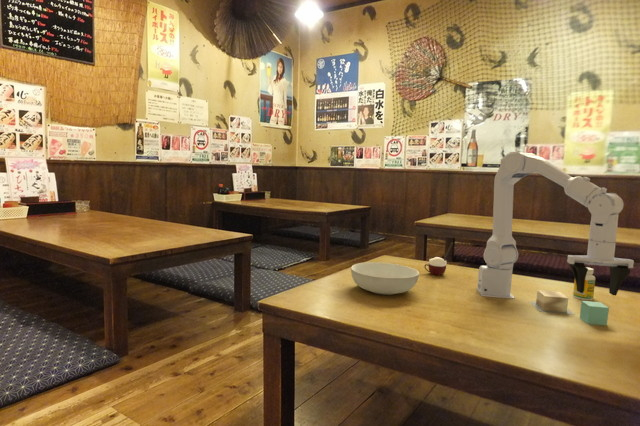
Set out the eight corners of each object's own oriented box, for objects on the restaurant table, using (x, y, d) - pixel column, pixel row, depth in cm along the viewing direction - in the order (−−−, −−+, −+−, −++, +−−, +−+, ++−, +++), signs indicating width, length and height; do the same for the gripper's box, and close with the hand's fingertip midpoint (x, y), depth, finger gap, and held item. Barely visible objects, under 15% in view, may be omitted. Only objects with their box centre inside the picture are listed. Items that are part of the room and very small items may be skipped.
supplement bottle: (577, 294, 133) (581, 265, 132) (596, 299, 129) (599, 269, 128) (569, 297, 130) (572, 267, 129) (588, 302, 126) (591, 271, 125)
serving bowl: (431, 298, 124) (433, 275, 123) (369, 304, 116) (370, 280, 116) (394, 279, 143) (395, 260, 143) (339, 283, 136) (339, 263, 135)
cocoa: (423, 274, 153) (423, 242, 152) (428, 271, 158) (428, 239, 157) (449, 278, 148) (449, 244, 147) (453, 274, 153) (454, 241, 152)
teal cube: (587, 325, 106) (589, 306, 106) (579, 319, 111) (581, 300, 110) (606, 326, 106) (608, 307, 105) (598, 320, 110) (600, 302, 109)
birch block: (543, 310, 116) (544, 296, 115) (536, 303, 121) (537, 290, 121) (566, 312, 115) (568, 298, 114) (558, 305, 120) (559, 291, 120)
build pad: (539, 312, 114) (539, 311, 114) (528, 302, 123) (528, 301, 123) (574, 315, 113) (575, 314, 113) (561, 305, 122) (561, 304, 122)
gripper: (577, 241, 103) (572, 295, 104) (643, 245, 101) (636, 300, 102) (566, 237, 110) (561, 287, 111) (627, 240, 108) (621, 292, 109)
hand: (596, 293), depth 107 cm, fingers open, 7 cm apart
